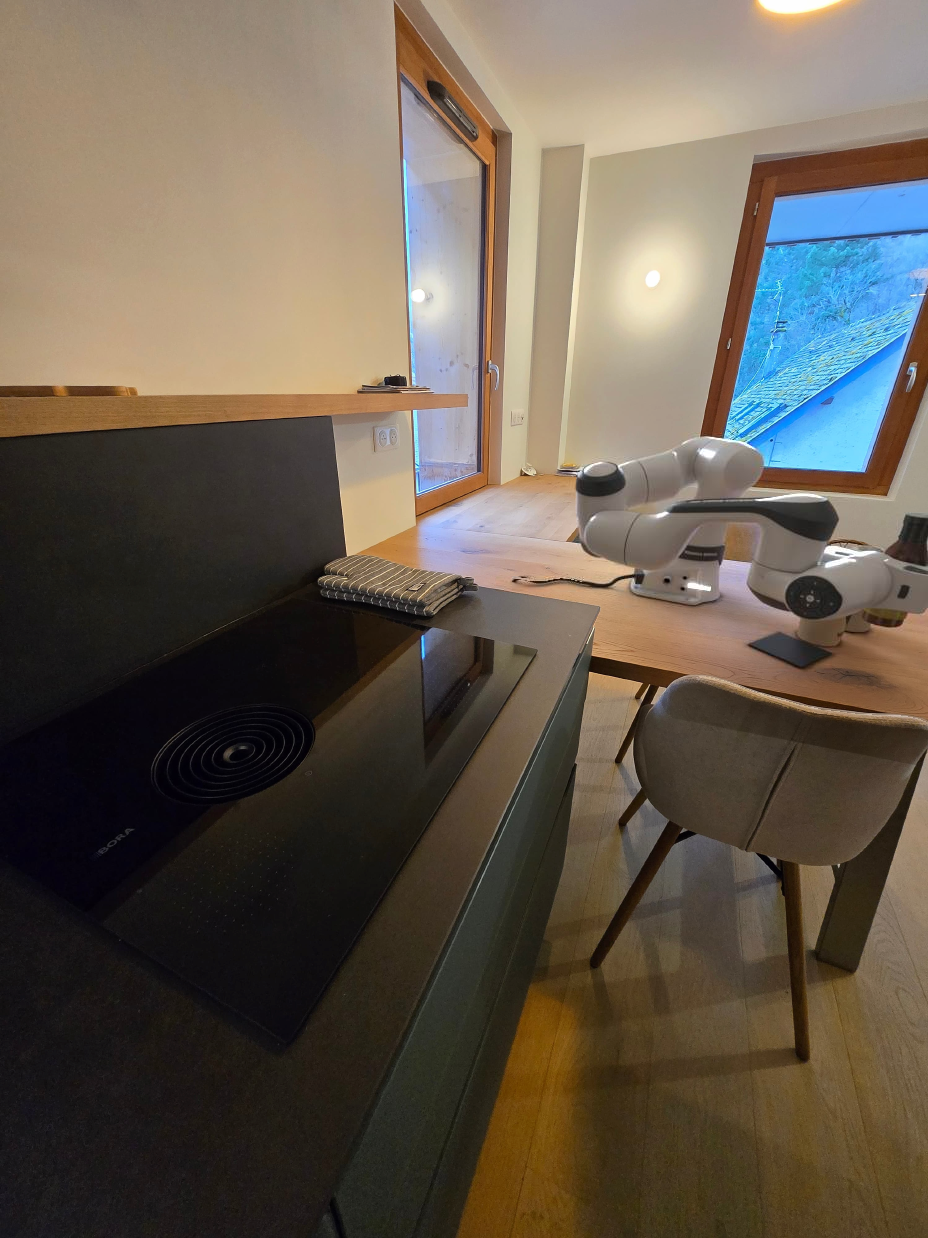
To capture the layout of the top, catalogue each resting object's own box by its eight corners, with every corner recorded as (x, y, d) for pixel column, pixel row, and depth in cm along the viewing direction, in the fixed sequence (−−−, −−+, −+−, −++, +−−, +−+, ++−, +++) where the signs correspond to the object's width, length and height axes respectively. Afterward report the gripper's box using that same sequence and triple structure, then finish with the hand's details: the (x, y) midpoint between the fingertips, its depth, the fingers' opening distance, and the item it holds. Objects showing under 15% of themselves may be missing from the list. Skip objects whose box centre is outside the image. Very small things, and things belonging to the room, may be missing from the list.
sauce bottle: (904, 632, 87) (951, 522, 78) (860, 624, 90) (901, 517, 82) (899, 619, 92) (943, 513, 83) (858, 611, 95) (896, 509, 86)
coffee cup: (844, 652, 102) (864, 599, 97) (792, 641, 107) (808, 590, 101) (842, 634, 109) (860, 584, 104) (793, 625, 114) (807, 576, 108)
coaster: (800, 668, 97) (801, 666, 97) (748, 645, 105) (748, 643, 105) (831, 654, 101) (832, 652, 101) (778, 633, 110) (779, 631, 110)
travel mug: (825, 627, 112) (850, 552, 104) (826, 615, 118) (850, 542, 110) (869, 636, 108) (899, 558, 100) (867, 623, 114) (895, 548, 106)
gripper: (794, 577, 90) (835, 564, 96) (932, 618, 74) (971, 600, 80) (804, 544, 88) (846, 533, 94) (950, 579, 71) (989, 563, 77)
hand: (905, 564), depth 87 cm, fingers closed on sauce bottle, 6 cm apart
